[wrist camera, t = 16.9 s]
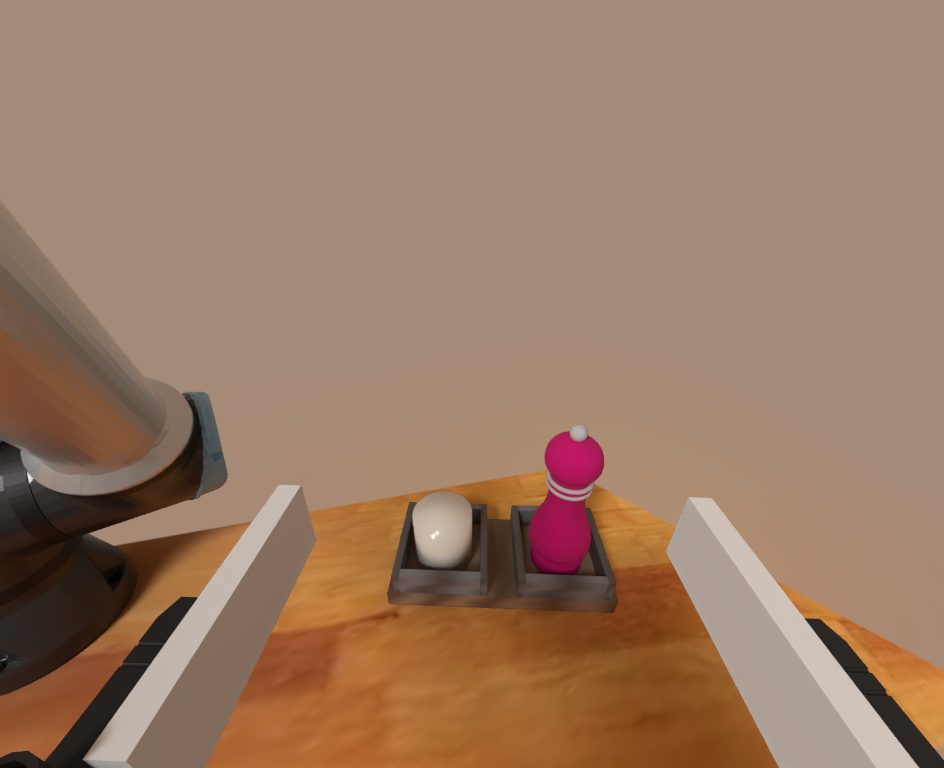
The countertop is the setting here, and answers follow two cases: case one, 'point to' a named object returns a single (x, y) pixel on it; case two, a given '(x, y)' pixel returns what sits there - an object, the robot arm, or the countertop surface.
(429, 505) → the white glossy dome
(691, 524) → the robot arm
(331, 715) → the countertop surface
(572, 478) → the pepper mill
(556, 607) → the two-compartment tray
